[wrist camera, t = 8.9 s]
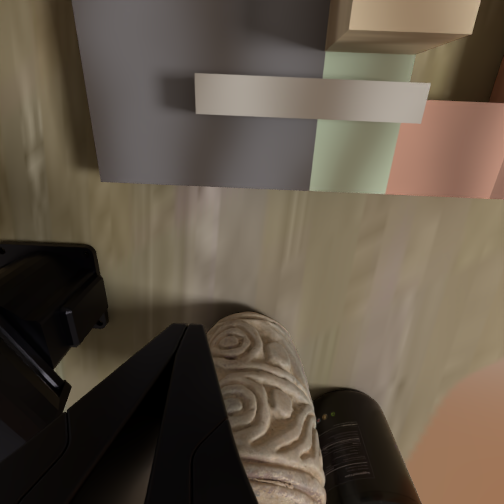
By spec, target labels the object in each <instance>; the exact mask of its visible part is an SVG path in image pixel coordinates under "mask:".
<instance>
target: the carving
mask: <svg viewBox="0 0 504 504" xmlns="http://www.w3.org/2000/svg"><path fill="white" fill-rule="evenodd" d="M207 339H208V342H209V346H210V350H211V354H212V357H213V361H214V365H215V369H216V372H217V376H218V380H219V384H220V388H221V391H222V395H223V399H224V403H225V406H226V410H227V414H228V418H229V419H228V420H229V421H230V424H231V428H232V432H233V436H234V439H235V442H236V445H237V449H238V452H239V455H240V458H241V461H242V463H243V466H244V469H245V471H246V474H247V476H248V479H249V482H250V484H251V486H252V489H253V491H254V493H255V496H256V498H257V500H258V503H259V504H326V492H325V489H324V485H325V475H324V471H323V468H322V467H323V461H322V454H321V449H320V447H319V438H318V433H317V430H316V429H315V428H316V417H315V413H314V407H313V402H312V399H311V395H310V391H309V386H308V381H307V378H306V375H305V372H304V368H303V365H302V362H301V360H300V357H299V354H298V352H297V349H296V347H295V344H294V342H293V340H292V338H291V336H290V334H289V332H288V331H287V330H286V329H285V328H284V327H283V326H282V325H281V324H279V323H278V322H276V321H275V320H273V319H271V318H269V317H267V316H264V315H262V314H259V313H255V312H242V313H236V314H232V315H229V316H227V317H224V318H222V319H220V320H219V321H218V322H217V323H216V324H215V325H214V326H213V327H212V328H211V329H210V330H209V331H208V333H207Z"/></svg>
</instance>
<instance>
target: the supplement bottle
mask: <svg viewBox="0 0 504 504" xmlns="http://www.w3.org/2000/svg"><path fill="white" fill-rule="evenodd" d="M313 407H314V413H315V417H316V428H315V429H316V430H317V433H318V438H319V447H320V449H321V454H322V461H323V467H322V468H323V471H324V475H325V485H324V489H325V492H326V504H422V503H421V501H420V499H419V496H418V494H417V491H416V489H415V487H414V484H413V482H412V480H411V477H410V475H409V473H408V470H407V468H406V465H405V463H404V461H403V458H402V456H401V453H400V451H399V449H398V446H397V444H396V442H395V439H394V437H393V434H392V432H391V430H390V427H389V425H388V423H387V420H386V418H385V416H384V414H383V411H382V409H381V408H380V406H379V405H378V403H377V402H376V401H375V400H374V399H372V398H371V397H369V396H368V395H366V394H364V393H361V392H358V391H353V390H337V391H332V392H329V393H326V394H324V395H322V396H320V397H318V398H317V399H316V400H314V401H313Z"/></svg>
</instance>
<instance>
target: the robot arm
mask: <svg viewBox="0 0 504 504" xmlns="http://www.w3.org/2000/svg"><path fill="white" fill-rule="evenodd" d="M2 248H3V249H5V251H4V250H3V249H2ZM85 251H87V252H88V253H89V255H87V254H85ZM107 308H108V303H107V298H106V292H105V287H104V281H103V278H102V276H101V275H100V271H99V265H98V260H97V255H96V251H95V249H94V248H93V247H91V246H89V245H74V244H51V243H28V242H5V241H4V242H0V504H259V503H258V500H257V498H256V496H255V493H254V491H253V489H252V486H251V484H250V482H249V479H248V476H247V474H246V471H245V469H244V466H243V463H242V461H241V458H240V455H239V452H238V449H237V445H236V442H235V439H234V436H233V432H232V428H231V424H230V421H229V420H228V419H229V418H228V414H227V410H226V406H225V403H224V399H223V395H222V391H221V388H220V384H219V380H218V376H217V372H216V369H215V365H214V361H213V357H212V354H211V350H210V346H209V342H208V339H207V335H206V331H205V327H204V325H203V324H189V325H188V324H186V323H173V324H171V325H170V326H169V327H167V328H166V329H165V330H164V331H163V332H161V333H160V334H159V335H158V336H156V337H155V338H154V339H153V340H152V341H150V342H149V343H148V344H147V345H145V346H144V347H143V348H142V349H141V350H139V351H138V352H137V353H136V354H135V355H133V356H132V357H131V358H130V359H128V360H127V361H126V362H125V363H124V364H122V365H121V366H120V367H119V368H117V369H116V370H115V371H114V372H113V373H111V374H110V375H109V376H108V377H106V378H105V379H104V380H103V381H102V382H100V383H99V384H98V385H97V386H95V387H94V388H93V389H92V390H91V391H89V392H88V393H87V394H86V395H84V396H83V397H82V398H81V399H80V400H78V401H77V402H76V403H75V404H73V405H72V406H71V407H70V408H69V409H68V410H67V413H66V412H64V413H63V410H64V407H65V404H66V402H67V399H68V396H69V393H70V390H71V388H72V386H71V385H70V384H69V383H68V382H67V381H66V380H62V379H61V378H60V377H59V376H58V374H57V373H56V372H55V371H54V368H55V367H56V366H57V365H58V363H59V362H60V361H61V360H62V358H63V357H64V356H65V355H66V353H67V352H68V351H69V350H70V348H71V347H77V346H78V345H80V344H81V342H82V341H83V340H84V338H85V337H86V336H87V334H88V333H89V332H90V331H91V329H92V328H99V329H101V328H104V327H105V326H106V325H107V324H108V322H109V319H108V314H107ZM99 320H100V321H102V322H103V323H102V322H100V321H99Z"/></svg>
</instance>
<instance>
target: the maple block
mask: <svg viewBox="0 0 504 504" xmlns="http://www.w3.org/2000/svg"><path fill="white" fill-rule="evenodd" d="M480 2H481V0H330V9H329V18H328V27H327V36H326V45H325V51H327V52H353V53H380V54H407V55H416V54H419V53H421V52H424V51H427V50H430V49H432V48H435V47H438V46H441V45H443V44H446V43H449V42H452V41H454V40H457V39H460V38H463V37H465V36H468V35H471V34H472V31H473V27H474V24H475V20H476V16H477V13H478V9H479V5H480Z"/></svg>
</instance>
